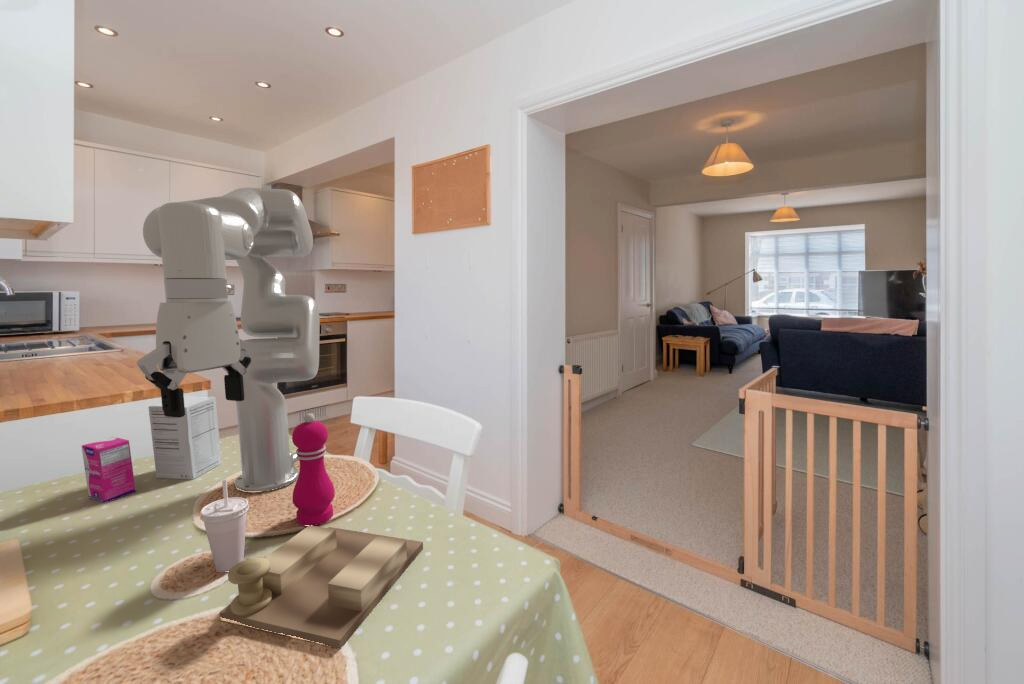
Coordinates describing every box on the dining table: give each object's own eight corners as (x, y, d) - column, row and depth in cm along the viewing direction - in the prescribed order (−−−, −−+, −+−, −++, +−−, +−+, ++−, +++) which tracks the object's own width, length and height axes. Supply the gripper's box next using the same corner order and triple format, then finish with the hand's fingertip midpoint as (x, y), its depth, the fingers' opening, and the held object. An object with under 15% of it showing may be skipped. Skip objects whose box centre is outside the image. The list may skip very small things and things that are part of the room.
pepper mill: (344, 513, 89) (339, 410, 86) (313, 531, 82) (307, 421, 80) (316, 505, 92) (310, 406, 89) (285, 522, 85) (277, 416, 83)
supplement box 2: (187, 462, 114) (181, 395, 112) (223, 463, 113) (217, 395, 111) (154, 478, 105) (146, 405, 103) (192, 480, 104) (185, 406, 102)
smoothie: (218, 583, 68) (210, 492, 66) (197, 569, 72) (188, 482, 70) (261, 561, 74) (255, 476, 72) (239, 549, 77) (232, 467, 75)
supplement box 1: (87, 498, 95) (80, 444, 94) (120, 487, 101) (114, 435, 99) (103, 503, 93) (96, 448, 91) (137, 491, 98) (131, 439, 97)
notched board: (329, 533, 82) (327, 499, 81) (423, 548, 77) (422, 513, 76) (220, 620, 61) (216, 576, 60) (340, 649, 56) (337, 601, 55)
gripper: (229, 291, 77) (237, 393, 79) (112, 292, 61) (126, 421, 62) (265, 291, 75) (272, 396, 77) (154, 292, 58) (166, 426, 60)
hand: (206, 407), depth 69 cm, fingers open, 9 cm apart
